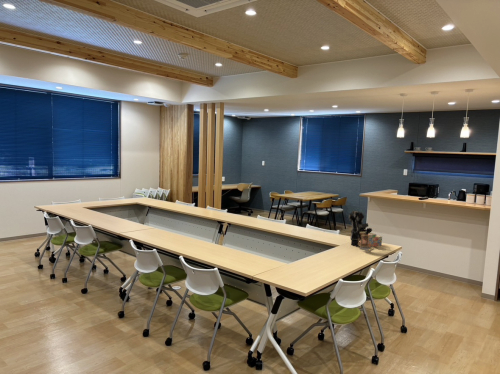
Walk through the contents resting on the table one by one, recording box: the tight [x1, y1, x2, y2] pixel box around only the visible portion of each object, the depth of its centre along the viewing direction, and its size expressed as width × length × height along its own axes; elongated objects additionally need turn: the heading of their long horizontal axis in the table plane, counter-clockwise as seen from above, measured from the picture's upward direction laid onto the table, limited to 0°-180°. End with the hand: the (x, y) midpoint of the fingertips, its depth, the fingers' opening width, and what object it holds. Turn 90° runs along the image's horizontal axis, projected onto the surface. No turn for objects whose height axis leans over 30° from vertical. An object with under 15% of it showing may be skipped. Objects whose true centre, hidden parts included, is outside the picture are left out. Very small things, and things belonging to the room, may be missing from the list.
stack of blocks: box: [362, 232, 383, 248], centre depth 349 cm, size 21×6×12 cm, turn 120°
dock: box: [359, 246, 374, 252], centre depth 331 cm, size 9×12×2 cm
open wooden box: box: [358, 232, 369, 248], centre depth 323 cm, size 6×6×11 cm
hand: (364, 239), depth 321 cm, fingers closed on open wooden box, 6 cm apart
